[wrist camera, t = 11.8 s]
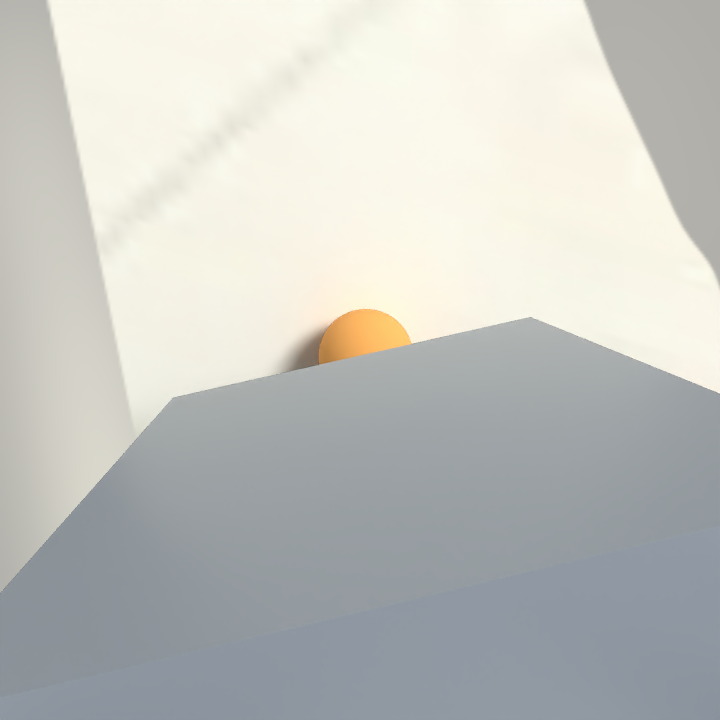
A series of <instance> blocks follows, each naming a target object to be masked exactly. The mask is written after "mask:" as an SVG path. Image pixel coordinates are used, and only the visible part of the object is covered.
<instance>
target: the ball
mask: <svg viewBox="0 0 720 720" xmlns="http://www.w3.org/2000/svg"><path fill="white" fill-rule="evenodd" d="M409 344H411V341H410V338H409V336H408V334H407V332H406V331H405V329H404V328H403V327H402V325H401V324H400V323H399V322H398V321H396V320H395V319H394V318H393V317H391V316H389V315H388V314H386V313H383V312H381V311H377V310H372V309H359V310H354V311H351V312H348V313H346V314H344V315H342V316H341V317H339V318H338V319H336V320H335V321H334V322H333V323H332V324H331V325H330V326H329V327H328V329H327V330H326V332H325V334H324V336H323V338H322V340H321V343H320V348H319V365H320V364H325V363H329V362H334V361H338V360H343V359H347V358H351V357H356V356H360V355H365V354H369V353H374V352H378V351H382V350H387V349H391V348H396V347H400V346H405V345H409Z"/></svg>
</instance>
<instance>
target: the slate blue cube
mask: <svg viewBox="0 0 720 720" xmlns="http://www.w3.org/2000/svg"><path fill="white" fill-rule="evenodd" d="M0 720H720V394H719V393H717V392H714V391H712V390H709V389H707V388H704V387H702V386H699V385H697V384H695V383H692V382H690V381H687V380H685V379H682V378H680V377H677V376H675V375H672V374H670V373H667V372H665V371H662V370H660V369H657V368H655V367H653V366H650V365H648V364H645V363H643V362H640V361H638V360H635V359H633V358H630V357H628V356H625V355H623V354H620V353H618V352H615V351H613V350H611V349H608V348H606V347H603V346H601V345H598V344H596V343H593V342H591V341H588V340H586V339H583V338H581V337H578V336H576V335H573V334H571V333H569V332H566V331H564V330H561V329H559V328H556V327H554V326H551V325H549V324H546V323H544V322H541V321H539V320H536V319H534V318H531V317H529V318H524V319H520V320H515V321H511V322H507V323H502V324H498V325H493V326H489V327H484V328H480V329H476V330H471V331H467V332H462V333H458V334H453V335H449V336H445V337H440V338H436V339H431V340H427V341H422V342H418V343H414V344H409V345H405V346H400V347H396V348H391V349H387V350H382V351H378V352H374V353H369V354H365V355H360V356H356V357H351V358H347V359H343V360H338V361H334V362H329V363H325V364H320V365H316V366H312V367H307V368H303V369H298V370H294V371H289V372H285V373H280V374H276V375H272V376H267V377H263V378H258V379H254V380H249V381H245V382H241V383H236V384H232V385H227V386H223V387H218V388H214V389H210V390H205V391H201V392H196V393H192V394H187V395H183V396H178V397H174V398H173V399H172V400H171V401H170V402H169V403H168V404H167V405H166V406H165V408H164V409H163V410H162V411H161V412H160V413H159V414H158V415H157V417H156V418H155V419H154V420H153V421H152V422H151V423H150V425H149V426H148V427H147V428H146V429H145V430H144V431H143V432H142V434H141V435H140V436H139V437H138V438H137V439H136V440H135V441H134V443H133V444H132V445H131V446H130V447H129V448H128V449H127V451H126V452H125V453H124V454H123V455H122V456H121V457H120V459H119V460H118V461H117V462H116V463H115V464H114V465H113V466H112V468H111V469H110V470H109V471H108V472H107V473H106V474H105V475H104V477H103V478H102V479H101V480H100V481H99V482H98V483H97V484H96V486H95V487H94V488H93V489H92V490H91V491H90V493H89V494H88V495H87V496H86V497H85V498H84V499H83V500H82V501H81V503H80V504H79V505H78V506H77V507H76V508H75V509H74V510H73V512H72V513H71V514H70V515H69V516H68V517H67V518H66V519H65V521H64V522H63V523H62V524H61V525H60V526H59V528H58V529H57V530H56V531H55V532H54V533H53V534H52V535H51V536H50V538H49V539H48V540H47V541H46V542H45V543H44V544H43V546H42V547H41V548H40V549H39V550H38V551H37V552H36V554H35V555H34V556H33V557H32V558H31V559H30V560H29V561H28V563H27V564H26V565H25V566H24V567H23V568H22V569H21V570H20V572H19V573H18V574H17V575H16V576H15V577H14V578H13V580H12V581H11V582H10V583H9V584H8V585H7V586H6V587H5V588H4V590H3V591H2V592H1V593H0Z"/></svg>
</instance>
